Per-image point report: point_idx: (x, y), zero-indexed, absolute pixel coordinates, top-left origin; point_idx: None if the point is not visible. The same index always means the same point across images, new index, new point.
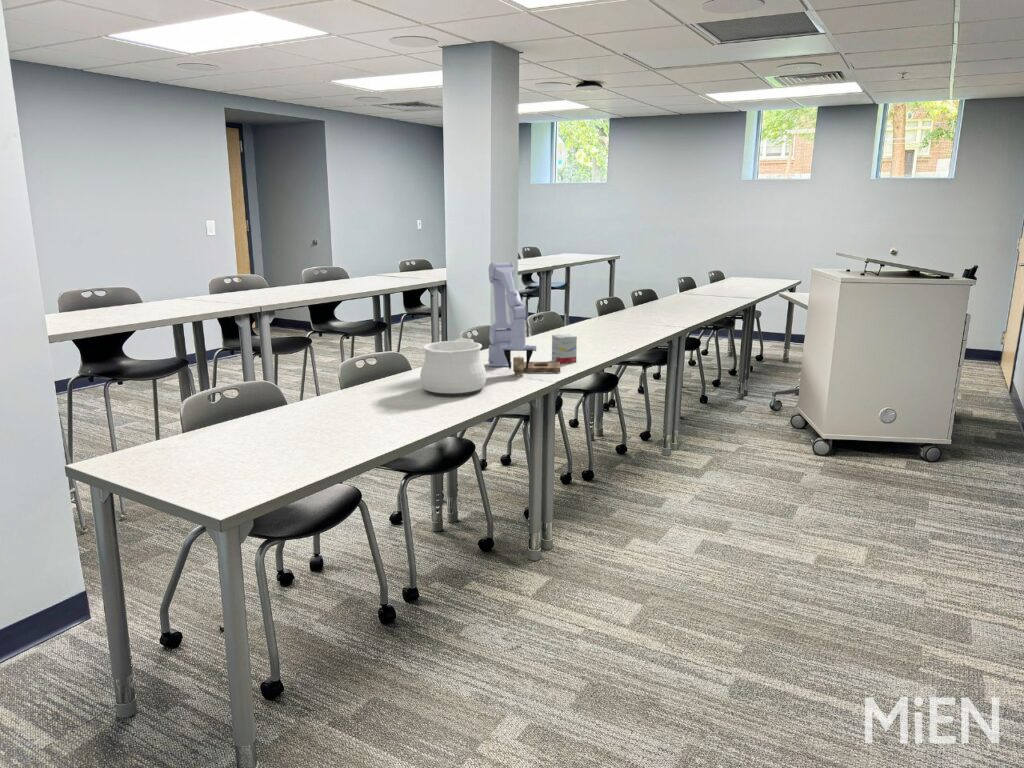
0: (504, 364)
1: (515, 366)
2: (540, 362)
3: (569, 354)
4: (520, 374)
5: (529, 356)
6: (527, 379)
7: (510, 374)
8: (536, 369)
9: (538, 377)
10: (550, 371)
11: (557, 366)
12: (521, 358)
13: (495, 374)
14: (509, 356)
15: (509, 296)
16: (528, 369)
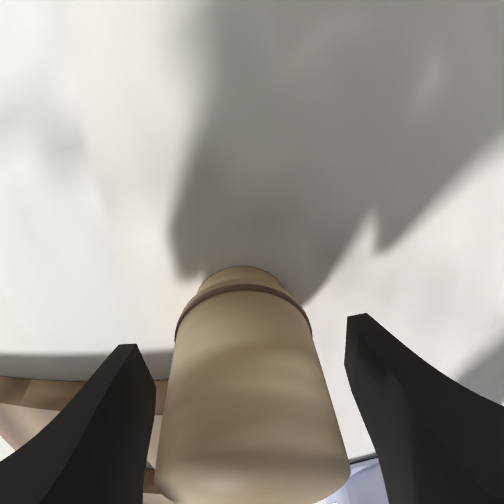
0: (370, 471)
1: (284, 334)
2: (150, 502)
3: None
4: (210, 281)
5: (8, 471)
6: (79, 88)
7: (331, 303)
8: None
9: (10, 219)
10: (15, 385)
11: (5, 432)
12: (176, 470)
13: (461, 275)
14: (459, 444)
15: None
16: (161, 404)
